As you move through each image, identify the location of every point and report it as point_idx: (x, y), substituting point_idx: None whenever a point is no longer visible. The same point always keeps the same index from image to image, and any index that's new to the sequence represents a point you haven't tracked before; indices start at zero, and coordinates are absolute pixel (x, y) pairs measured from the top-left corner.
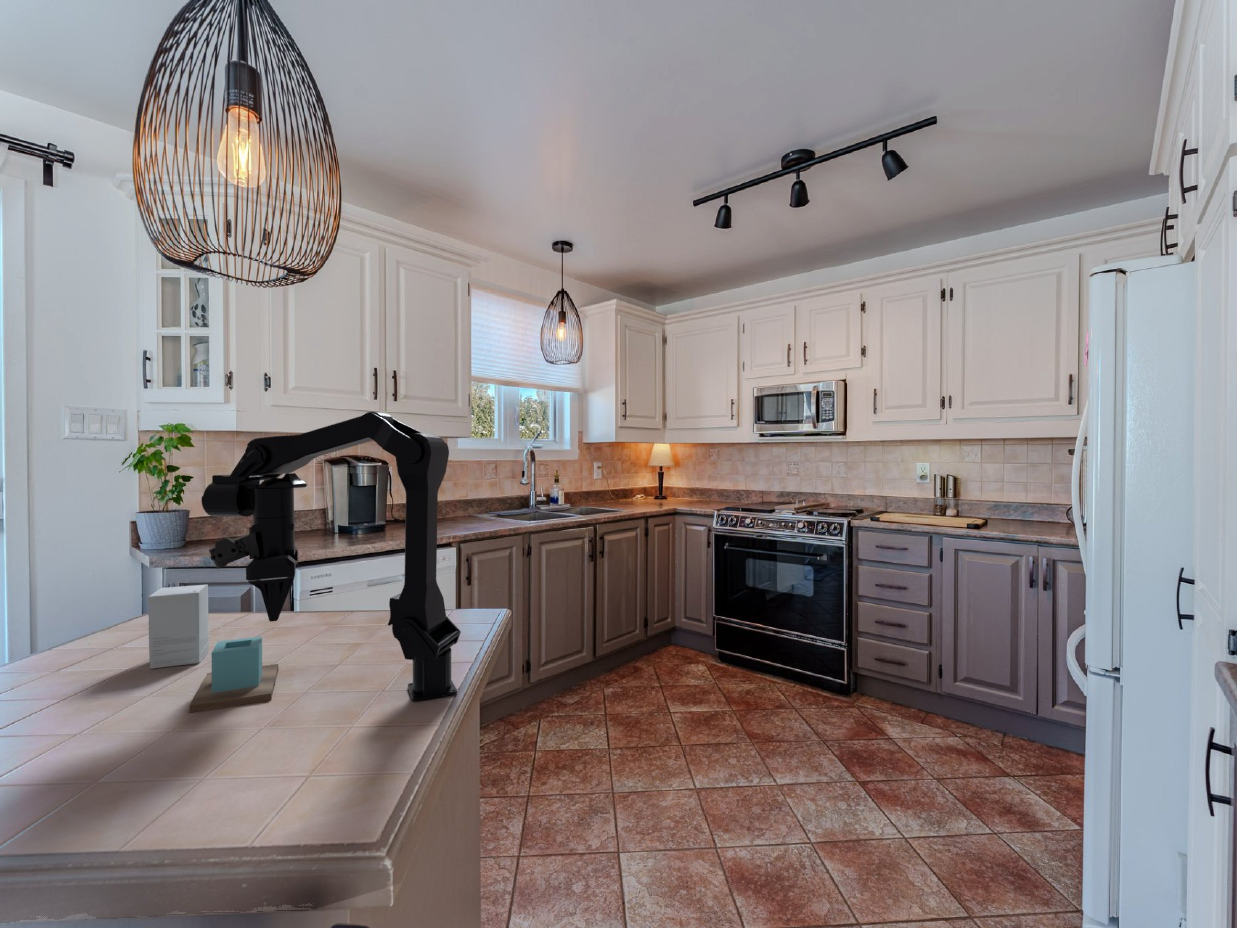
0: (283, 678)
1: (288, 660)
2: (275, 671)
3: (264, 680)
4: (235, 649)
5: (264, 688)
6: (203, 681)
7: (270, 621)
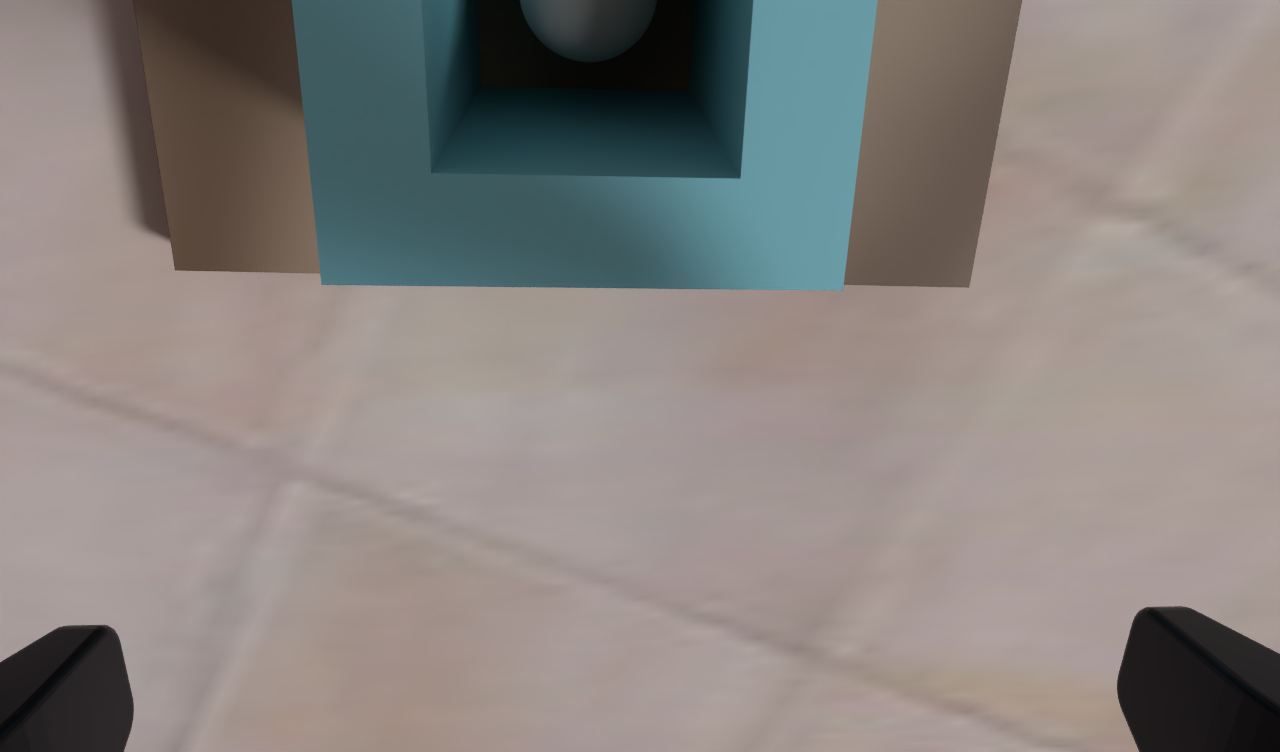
0: (689, 314)
1: (1160, 334)
2: None
3: None
4: (317, 1)
5: None
6: None
7: (71, 630)
